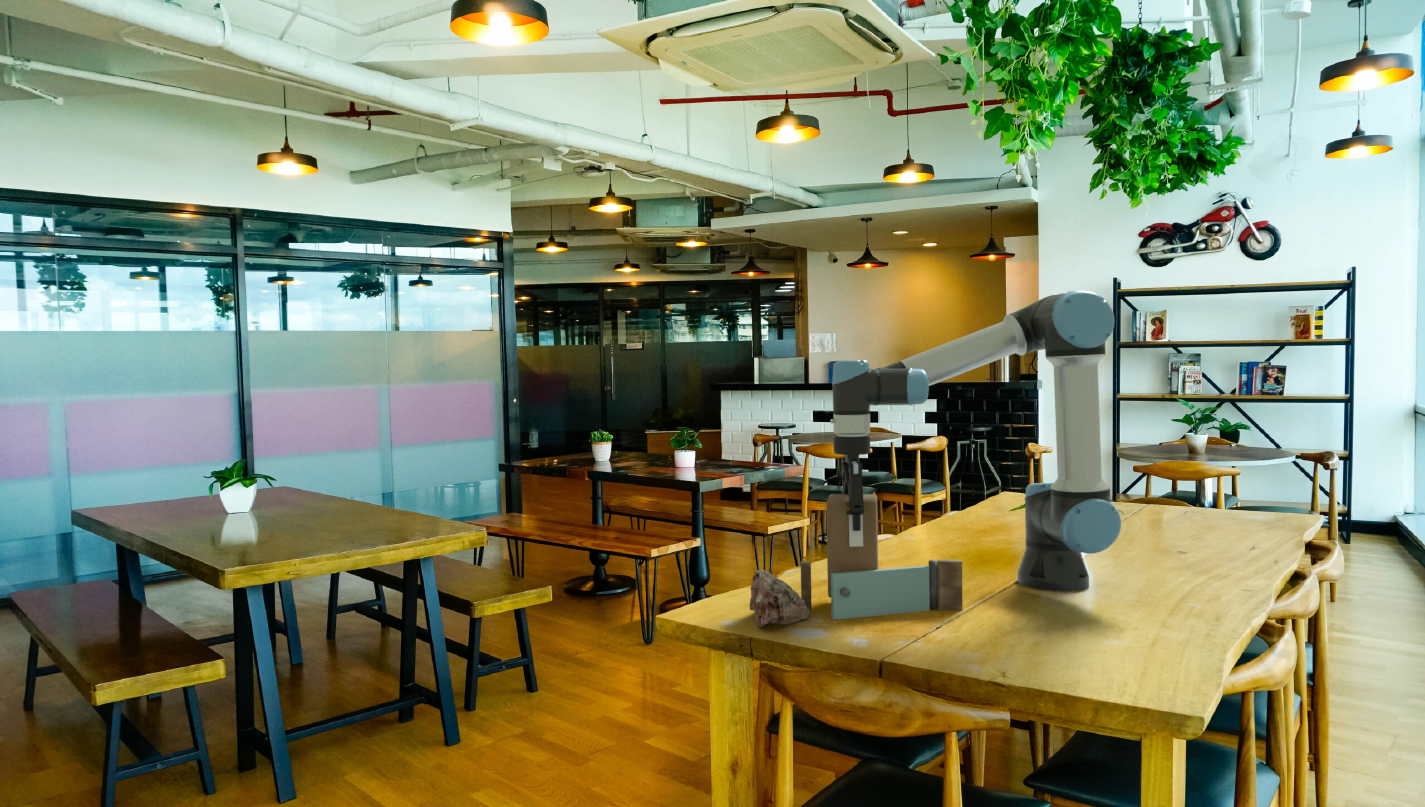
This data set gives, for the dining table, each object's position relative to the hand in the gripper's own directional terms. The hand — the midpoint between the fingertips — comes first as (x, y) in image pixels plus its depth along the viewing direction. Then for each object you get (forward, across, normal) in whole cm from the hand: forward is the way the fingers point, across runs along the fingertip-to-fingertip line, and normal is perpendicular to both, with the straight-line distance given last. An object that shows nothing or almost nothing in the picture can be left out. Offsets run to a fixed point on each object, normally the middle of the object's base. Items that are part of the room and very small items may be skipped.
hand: (852, 540), depth 186 cm
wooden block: (+11, 0, 0) cm, 11 cm away
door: (+14, +7, +5) cm, 16 cm away
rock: (+14, +10, -17) cm, 24 cm away
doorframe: (+14, +2, +5) cm, 15 cm away
